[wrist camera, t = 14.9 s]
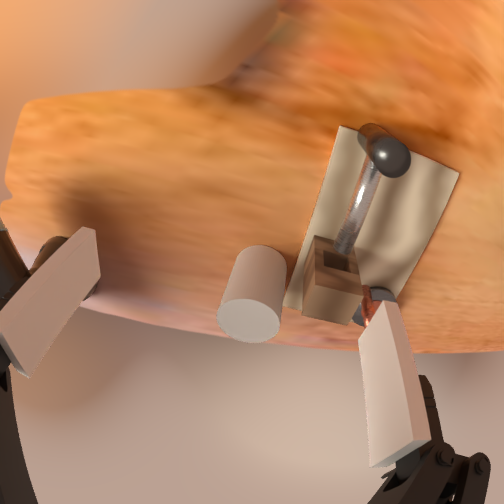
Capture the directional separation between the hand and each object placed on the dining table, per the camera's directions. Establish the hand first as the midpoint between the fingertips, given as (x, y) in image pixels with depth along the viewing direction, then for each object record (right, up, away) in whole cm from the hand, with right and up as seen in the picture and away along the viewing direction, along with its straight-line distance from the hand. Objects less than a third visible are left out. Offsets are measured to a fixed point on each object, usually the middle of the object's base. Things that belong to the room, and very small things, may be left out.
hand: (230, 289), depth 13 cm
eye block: (+18, +3, +29) cm, 34 cm away
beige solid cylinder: (+2, -1, +35) cm, 35 cm away
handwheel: (+20, -6, +33) cm, 40 cm away
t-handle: (+14, +11, +23) cm, 29 cm away
